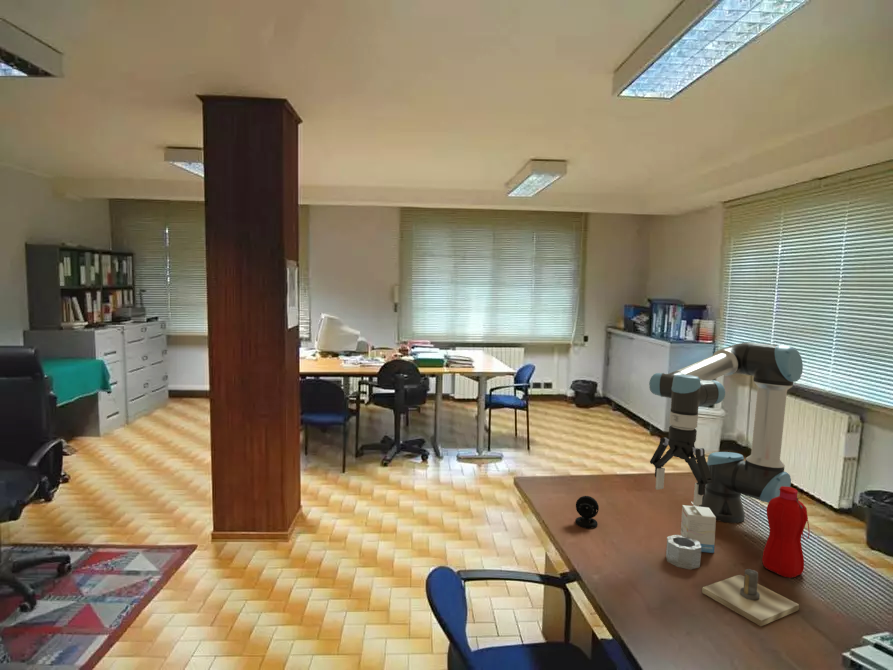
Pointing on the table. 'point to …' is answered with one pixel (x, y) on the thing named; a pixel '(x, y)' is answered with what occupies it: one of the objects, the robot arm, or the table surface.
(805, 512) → the water bottle
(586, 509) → the webcam
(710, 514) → the ink box
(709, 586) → the shaft block
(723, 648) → the table surface
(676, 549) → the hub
